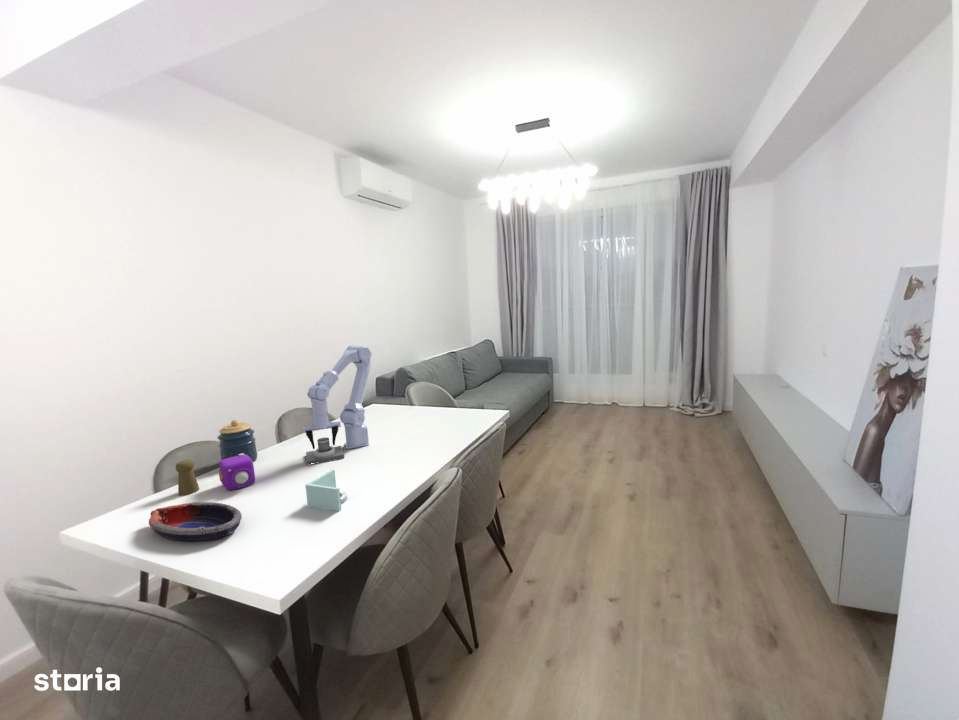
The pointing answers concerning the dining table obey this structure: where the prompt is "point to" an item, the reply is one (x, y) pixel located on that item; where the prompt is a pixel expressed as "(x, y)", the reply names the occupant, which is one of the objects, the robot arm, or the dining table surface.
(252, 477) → the toy camera
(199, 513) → the dish
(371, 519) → the dining table surface
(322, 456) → the grey flat piece
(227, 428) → the canister
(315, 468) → the dining table surface
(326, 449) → the lens
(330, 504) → the right angle wall
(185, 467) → the olive chess piece
